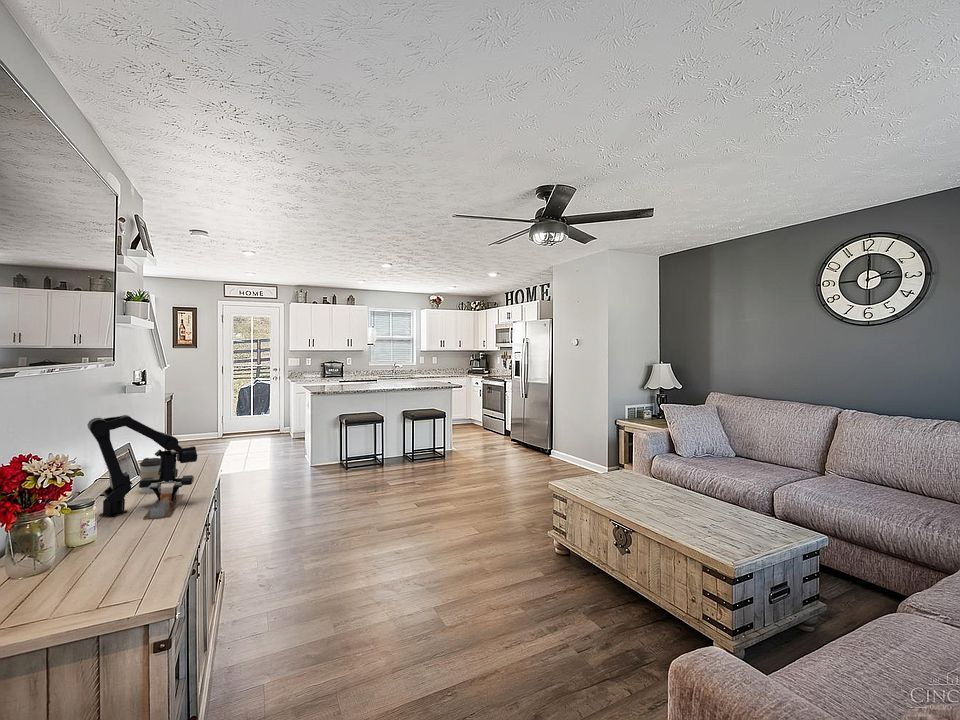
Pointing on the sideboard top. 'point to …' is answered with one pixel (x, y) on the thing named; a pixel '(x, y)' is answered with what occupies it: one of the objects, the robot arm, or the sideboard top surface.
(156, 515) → the tube base
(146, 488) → the coffee cup
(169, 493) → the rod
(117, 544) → the sideboard top surface
